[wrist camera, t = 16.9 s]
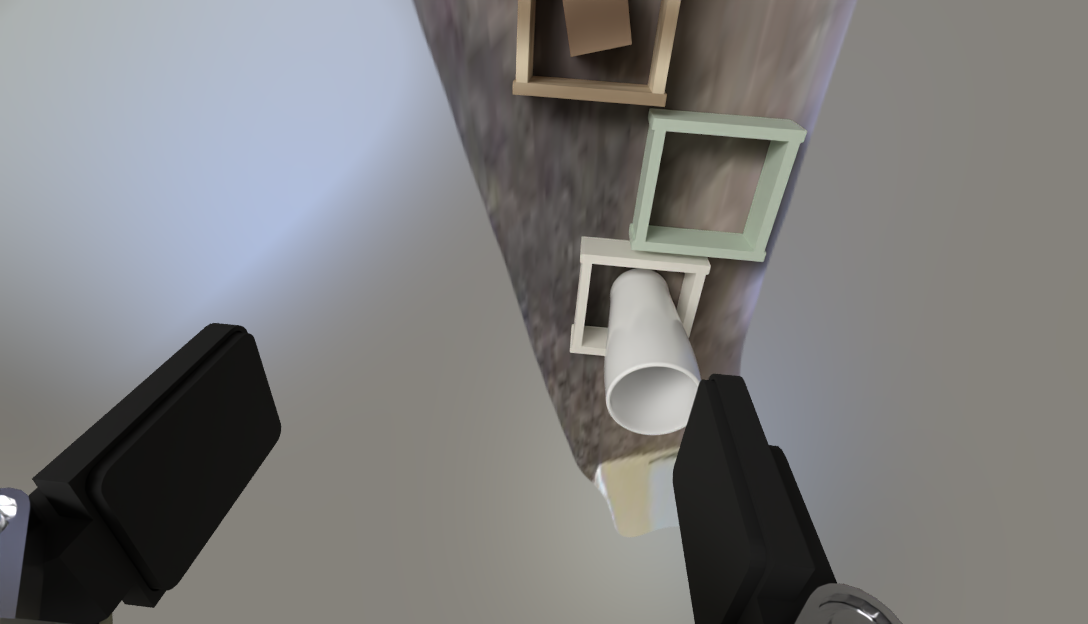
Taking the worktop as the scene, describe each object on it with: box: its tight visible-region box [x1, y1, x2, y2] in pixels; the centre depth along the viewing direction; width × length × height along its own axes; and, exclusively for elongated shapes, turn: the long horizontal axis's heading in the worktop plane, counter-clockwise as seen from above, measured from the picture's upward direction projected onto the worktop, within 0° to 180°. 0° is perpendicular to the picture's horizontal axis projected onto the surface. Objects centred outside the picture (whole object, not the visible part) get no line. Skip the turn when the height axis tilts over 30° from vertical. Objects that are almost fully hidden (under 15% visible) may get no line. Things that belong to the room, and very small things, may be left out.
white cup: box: [604, 268, 701, 435], centre depth 41 cm, size 7×7×15 cm
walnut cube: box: [563, 0, 632, 57], centre depth 34 cm, size 4×4×4 cm
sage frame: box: [629, 108, 807, 262], centre depth 39 cm, size 10×11×4 cm
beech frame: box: [513, 0, 681, 107], centre depth 34 cm, size 10×11×4 cm
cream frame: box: [570, 236, 711, 356], centre depth 46 cm, size 10×11×4 cm
